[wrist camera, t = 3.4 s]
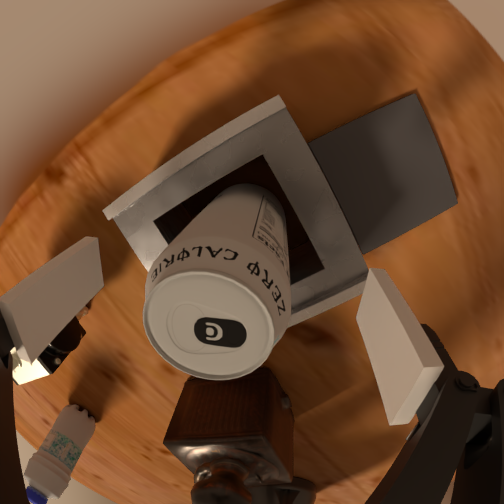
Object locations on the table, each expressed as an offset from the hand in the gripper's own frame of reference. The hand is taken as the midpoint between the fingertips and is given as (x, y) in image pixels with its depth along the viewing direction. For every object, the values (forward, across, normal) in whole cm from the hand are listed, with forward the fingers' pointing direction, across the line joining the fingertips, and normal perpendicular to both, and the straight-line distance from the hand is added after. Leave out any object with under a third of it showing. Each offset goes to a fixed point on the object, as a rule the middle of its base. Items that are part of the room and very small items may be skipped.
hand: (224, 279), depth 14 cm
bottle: (+11, +25, +35) cm, 44 cm away
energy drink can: (+11, 0, 0) cm, 11 cm away
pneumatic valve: (+11, +19, +11) cm, 25 cm away
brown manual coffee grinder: (+11, 0, +20) cm, 23 cm away
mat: (+11, -11, -5) cm, 16 cm away
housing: (+11, 0, 0) cm, 11 cm away
